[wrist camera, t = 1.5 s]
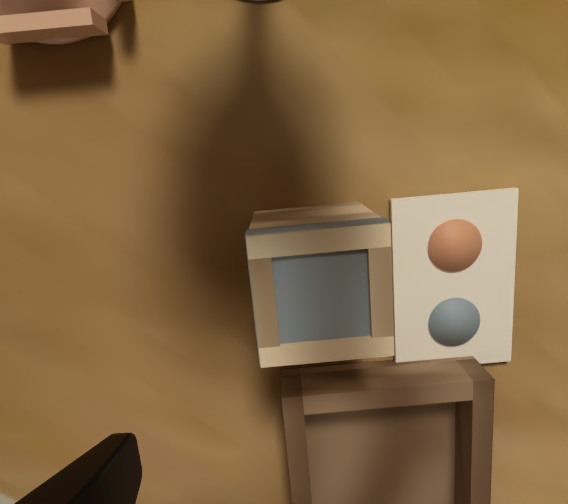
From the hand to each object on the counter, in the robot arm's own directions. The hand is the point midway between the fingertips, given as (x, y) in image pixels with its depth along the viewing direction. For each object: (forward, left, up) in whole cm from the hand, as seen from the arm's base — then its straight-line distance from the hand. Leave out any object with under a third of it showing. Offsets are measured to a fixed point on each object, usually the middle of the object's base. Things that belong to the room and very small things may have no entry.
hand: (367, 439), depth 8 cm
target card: (+7, -2, -13) cm, 15 cm away
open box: (+3, -12, -13) cm, 18 cm away
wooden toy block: (0, 0, -13) cm, 13 cm away
